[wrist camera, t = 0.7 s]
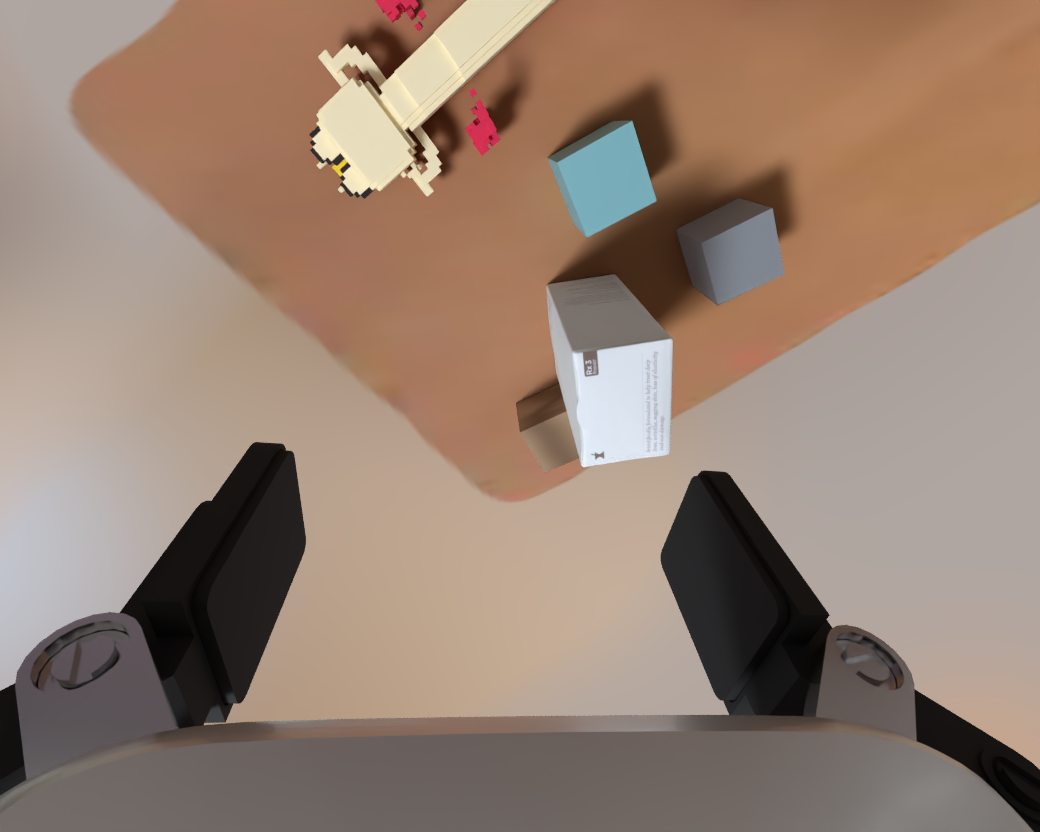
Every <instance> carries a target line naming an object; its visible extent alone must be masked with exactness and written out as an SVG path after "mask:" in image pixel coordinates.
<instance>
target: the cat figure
mask: <svg viewBox="0 0 1040 832" xmlns="http://www.w3.org/2000/svg"><path fill="white" fill-rule="evenodd" d="M375 1H376V3H377V4H378V6H379V7H380V8H381V10H382V11H383V13H384V12H385V14H386V15H387V16H388V18H389V19H390V20H391V22H392V23H393V22H394V21H395V20H398V19H399V18H400V17H401V14H402V13H403V12H407V14H408V16H409V17H410V19H411V20H413V19H414V18H415V13H414V12H413V10H412V9H411V8H412V7H413V9H414V10H415V9H416V8H417V7H418V3H417V2H416V0H375ZM555 1H556V0H467V1H466V2H465V3H464V4H463V5H461V6H460V7H459V8H458V9H457V10H456V11H455V12H454V13H453V14H452V15H451V16H450V17H449V18H448V19H447V20H446V21H445V22H444V23H443V24H442V25H441V26H440V27H439V28H438V29H437V30H436V31H435V32H434V34H433V35H432V36H431V37H430V38H429V39H428V40H427V41H426V42H424V43H423V44H422V45H421V46H420V47H419V48H418V49H417V50H416V51H415V52H414V53H413V54H412V55H411V56H410V57H409V58H408V59H407V60H406V61H405V62H404V63H403V64H402V65H401V66H400V67H399V68H398V69H396V70H395V71H394V74H393V75H392V76H391V77H389V78H388V79H387V80H386V78H385V77H384V75H383V74H382V73H381V71H380V70H379V69H378V67H377V66H376V64H375V63H374V62H373V60H372V59H371V58H370V56H369V55H368V53H367V52H366V53H365V54H364V55H362V54H361V53H360V51H359V50H358V49H357V47H356V46H354V47H353V48H352V49H351V48H350V46H349V45H348V44H347V45H346V46H345V47H344V48H343V49H342V50H341V51H340V52H339V53H338V54H337V55H336V56H335V57H334V58H333V57H332V56H331V55H330V53H329V52H328V51H327V50H324V51H323V52H322V53H321V54H320V55H319V56H318V58H319V59H320V60H321V61H322V63H323V64H324V65H325V67H326V68H327V69H328V70H329V72H330V73H331V74H332V76H333V77H334V78H335V79H336V81H337V82H338V83H339V85H340V86H341V87H342V88H341V89H340V90H339V91H338V92H337V93H336V94H335V95H334V96H333V97H332V98H331V99H330V100H329V101H328V102H327V103H326V104H325V105H324V106H323V107H322V108H321V109H320V110H319V113H318V114H317V115H316V116H317V117H318V118H319V121H318V122H317V123H316V124H317V125H318V127H317V128H316V129H315V130H314V131H313V132H312V133H310V134H309V135H310V136H311V137H312V138H313V140H312V141H311V142H310V143H311V144H312V146H313V148H312V149H311V150H310V151H311V152H312V153H313V154H314V155H315V156H316V158H317V159H318V160H319V161H320V162H319V163H318V164H317V166H318V167H319V168H320V169H322V168H323V167H324V166H325V165H326V164H327V163H328V164H329V165H330V164H332V163H334V164H335V165H334V166H333V169H334V170H335V171H336V172H337V173H338V174H339V176H340V178H341V179H342V181H343V182H342V183H341V184H340V185H341V187H340V188H339V189H338V190H339V191H340V193H343V192H344V191H346V192H347V193H348V195H349V196H350V197H351V196H353V195H355V196H356V197H357V198H358V197H359V196H360V195H361V196H362V197H363V198H364V199H365V198H366V197H367V196H368V195H369V194H370V193H371V192H373V191H374V190H375V189H376V188H377V189H378V191H381V190H383V189H384V188H385V187H387V186H388V185H389V184H390V183H391V182H392V181H393V180H394V179H396V178H397V177H398V176H399V175H400V174H401V175H402V177H403V178H404V177H405V176H406V175H407V176H408V177H409V178H411V177H412V178H413V179H414V181H415V182H416V183H417V185H418V186H419V187H420V188H421V190H422V191H423V192H424V194H425V195H426V196H427V197H428V196H429V195H430V194H431V193H432V192H433V191H434V189H433V188H432V187H431V185H430V184H429V182H430V181H431V180H432V179H433V178H434V177H435V176H436V175H438V174H439V173H440V172H441V169H440V168H439V166H440V165H441V164H442V163H441V161H440V160H439V159H438V157H437V156H436V155H437V154H438V153H439V151H438V150H437V148H436V147H435V145H434V144H433V143H432V141H431V140H430V139H429V137H428V136H427V134H426V133H425V132H424V130H423V129H422V128H421V125H422V124H423V123H424V122H425V121H426V120H428V119H429V118H430V117H431V116H432V115H433V114H434V113H435V112H436V111H437V110H438V109H439V108H440V107H441V106H442V105H443V104H444V103H445V102H447V101H448V100H449V99H450V98H451V97H452V96H453V95H454V94H455V93H456V92H457V91H458V90H460V89H461V88H462V87H463V86H464V85H465V84H466V83H467V82H468V81H469V80H470V79H472V78H473V77H474V76H475V75H476V73H478V72H479V71H480V70H481V69H482V68H483V67H484V66H485V65H486V64H487V63H488V62H489V61H491V60H492V59H493V58H494V57H495V56H496V55H497V54H498V53H499V52H500V51H501V50H502V49H504V48H505V47H506V46H507V45H508V44H509V43H510V42H511V41H512V40H513V39H514V38H515V37H517V36H518V35H519V34H520V33H521V32H522V31H523V30H524V29H525V28H526V27H527V26H528V25H530V24H531V23H532V22H533V21H534V20H535V19H536V18H537V17H538V16H539V15H540V14H542V13H543V12H544V11H545V10H546V9H547V8H548V7H549V6H550V5H552V4H553V3H554V2H555ZM418 15H419V17H420V18H421V20H423V19H424V18H425V17H426V14H425V13H424V11H423V10H422V9H421V10H420V11H419V12H418ZM415 27H416V28H417V30H418V31H419V30H420V29H421V28H422V26H421V25H420V23H419V22H418V23H417V24H416V25H415ZM349 64H350V66H351V67H352V68H353V69H354V68H355V67H356V66H358V68H359V69H360V70H361V72H362V73H363V74H364V75H365V74H366V73H367V72H369V74H370V75H371V76H372V78H373V79H374V81H375V82H376V83H377V85H378V86H379V88H380V89H381V91H382V92H383V93H382V94H381V95H380V94H379V93H378V92H377V90H376V89H375V88H374V87H373V86H372V85H371V84H370V83H369V82H368V81H367V82H366V83H365V84H364V83H363V82H362V81H361V80H359V81H357V79H356V78H355V77H354V76H353V77H352V78H351V79H350V80H349V78H348V77H347V76H346V74H345V73H344V71H343V70H344V69H345V68H346V67H347V66H348V65H349ZM469 93H470V95H471V96H472V98H473V97H474V96H475V95H476V94H477V93H476V91H475V90H474V88H473V89H472V90H471V91H470V92H469ZM476 105H477V106H478V109H477V110H476V108H475V107H474V108H473V109H472V110H471V111H472V113H473V114H476V115H477V118H476V119H475V120H474V121H473V122H472V123H471V124H470V125H469V126H467V127H466V128H465V130H466V131H467V133H468V135H469V136H470V138H471V139H472V140H473V141H474V142H473V144H474V145H475V147H476V148H477V150H478V151H479V152H480V154H481V155H483V154H484V153H486V152H487V151H488V150H489V148H488V146H487V145H488V144H489V143H490V144H491V146H494V145H495V144H496V143H497V142H498V141H499V140H500V138H499V137H498V134H497V133H496V130H497V129H496V127H495V126H494V123H493V122H492V120H491V119H490V117H489V116H488V115H489V114H488V112H487V110H486V109H485V107H484V106H483V103H482V102H481V100H480V99H479V100H478V101H477V102H476ZM409 129H410V130H411V131H412V132H413V133H414V134H415V136H416V137H417V139H418V140H419V141H420V143H421V144H422V145H423V147H424V148H425V149H426V150H425V151H424V152H423V155H424V156H425V157H426V159H427V160H428V161H429V162H428V163H427V164H425V165H426V166H427V168H428V170H427V171H425V172H424V173H423V174H421V172H420V171H419V170H420V169H421V168H423V166H422V165H421V164H418V165H417V167H418V168H417V167H416V164H415V163H414V161H415V160H417V159H416V157H415V156H414V155H415V154H416V153H417V151H416V150H415V149H414V148H415V147H416V146H417V144H416V142H415V141H414V140H413V138H412V137H411V136H410V134H409V133H408V132H407V130H409ZM410 165H411V167H412V168H413V169H412V170H411V171H410V172H409V173H408V174H406V173H405V172H404V170H405V169H407V168H408V167H409V166H410ZM418 169H419V170H418Z"/></svg>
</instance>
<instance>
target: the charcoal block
mask: <svg viewBox="0 0 1040 832" xmlns="http://www.w3.org/2000/svg"><path fill="white" fill-rule="evenodd" d="M676 232H677V235H678V238H679V242H680V245H681V249H682V252H683V255H684V259H685V262H686V266H687V269H688V273H689V276H690V279H691V283H692V286H693V287H694V288H696V289H697V290H698V291H700V292H701V293H702V294H704V295H705V296H706V297H707V298H709V299H710V300H711V301H713V302H714V303H715V304H717V305H720V304H722V303H724V302H726V301H728V300H730V299H733V298H735V297H737V296H739V295H741V294H743V293H745V292H747V291H750V290H752V289H754V288H756V287H758V286H760V285H762V284H765V283H767V282H769V281H771V280H773V279H775V278H777V277H780V276H782V275H784V269H783V264H782V258H781V252H780V247H779V241H778V235H777V230H776V224H775V219H774V213H773V208H771V207H768V206H764V205H761V204H758V203H754V202H751V201H747V200H744V199H740V198H737V199H735V200H733V201H731V202H729V203H727V204H725V205H723V206H721V207H719V208H717V209H715V210H714V211H712V212H710V213H708V214H706V215H704V216H702V217H700V218H698V219H696V220H694V221H692V222H690V223H688V224H686V225H684V226H682V227H680V228H678V229H676Z"/></svg>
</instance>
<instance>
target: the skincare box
mask: <svg viewBox="0 0 1040 832" xmlns="http://www.w3.org/2000/svg"><path fill="white" fill-rule="evenodd" d="M547 305H548V316H549V325H550V332H551V339H552V345H553V351H554V355H555V367H556V373H557V376H558V380H559V384H560V388H561V391H562V396H563V399H564V403H565V407H566V410H567V414H568V418H569V421H570V425H571V429H572V433H573V436H574V440H575V444H576V447H577V451H578V455H579V458H580V462H581V465H582V466H583V467H588V466H593V465H599V464H606V463H612V462H618V461H624V460H631V459H638V458H646V457H655V456H661V455H668V454H669V453H670V435H671V411H672V369H673V339H672V338H671V337H670V336H669V334H668V333H667V332H666V331H665V330H664V329H663V328H662V327H661V325H660V324H659V323H658V322H657V321H656V320H655V319H654V318H653V317H652V316H651V314H650V313H649V312H648V311H647V310H646V308H645V307H644V306H643V305H642V304H641V303H640V302H639V300H638V299H637V298H636V297H635V296H634V295H633V294H632V292H631V291H630V290H629V289H628V288H627V287H626V286H625V285H624V283H623V282H622V281H621V280H620V279H619V278H618V277H617V276H616V275H615V274H612V275H606V276H599V277H593V278H586V279H579V280H573V281H566V282H559V283H552V284H548V285H547Z"/></svg>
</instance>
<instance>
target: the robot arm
mask: <svg viewBox="0 0 1040 832" xmlns="http://www.w3.org/2000/svg"><path fill="white" fill-rule="evenodd" d="M305 545H306V536H305V528H304V521H303V514H302V507H301V500H300V493H299V486H298V479H297V472H296V464H295V458H294V453H293V452H292V451H286V448H285V446H284V445H283V444H277V443H260V442H255V443H253V444H252V445H251V446H250V447H249V449H248V450H247V451H246V453H245V454H244V456H243V457H242V459H241V460H240V462H239V463H238V464H237V466H236V467H235V468H234V470H233V471H232V473H231V474H230V476H229V477H228V478H227V480H226V481H225V483H224V484H223V485H222V487H221V488H220V490H219V491H218V493H217V494H216V496H215V497H214V498H213V500H212V501H205V502H203V503H201V504H200V505H199V506H198V507H197V508H196V509H195V511H194V512H193V513H192V515H191V516H190V518H189V519H188V520H187V522H186V523H185V524H184V526H183V527H182V529H181V530H180V531H179V533H178V534H177V535H176V537H175V538H174V540H173V541H172V542H171V543H170V545H169V546H168V548H167V549H166V550H165V552H164V553H163V554H162V556H161V557H160V559H159V560H158V561H157V563H156V564H155V565H154V567H153V568H152V569H151V571H150V572H149V574H148V575H147V576H146V578H145V579H144V580H143V582H142V583H141V585H140V586H139V587H138V588H137V590H136V591H135V593H134V594H133V595H132V597H131V598H130V599H129V601H128V602H127V604H126V605H125V606H124V608H123V609H122V610H121V612H120V613H111V612H109V613H102V614H95V615H91V616H88V617H85V618H82V619H79V620H77V621H74V622H72V623H70V624H68V625H66V626H64V627H62V628H61V629H58V630H56V631H55V632H54V633H52V634H51V635H50V636H48V637H47V638H46V639H44V640H43V641H41V642H40V643H39V644H38V645H37V646H36V647H35V648H34V649H33V650H32V651H31V652H30V653H29V654H28V655H27V656H26V658H25V659H24V661H23V663H22V664H21V666H20V668H19V670H18V672H17V676H16V683H15V684H13V685H11V686H9V687H7V688H5V689H3V690H1V691H0V832H1040V770H1039V769H1038V768H1037V767H1036V766H1035V765H1034V764H1033V763H1032V762H1030V761H1029V760H1027V759H1026V758H1024V757H1023V756H1022V755H1020V754H1019V753H1017V752H1016V751H1014V750H1013V749H1011V748H1010V747H1008V746H1006V745H1005V744H1003V743H1001V742H1000V741H998V740H996V739H995V738H993V737H991V736H990V735H988V734H987V733H985V732H983V731H982V730H980V729H978V728H977V727H975V726H974V725H972V724H970V723H969V722H967V721H965V720H963V719H962V718H960V717H959V716H957V715H956V714H954V713H952V712H951V711H949V710H947V709H945V708H944V707H942V706H941V705H939V704H938V703H936V702H934V701H933V700H931V699H929V698H928V697H926V696H924V695H923V694H921V693H919V692H918V691H916V690H915V689H914V682H913V678H912V674H911V672H910V670H909V669H908V667H907V665H906V664H905V662H904V661H903V660H902V659H901V657H900V656H899V655H898V654H897V653H896V652H895V651H894V650H893V649H892V648H891V647H890V646H888V645H887V644H886V643H885V642H884V641H882V640H881V639H879V638H878V637H876V636H874V635H873V634H871V633H869V632H867V631H865V630H862V629H860V628H858V627H853V626H848V625H841V626H836V627H834V628H832V627H831V625H830V624H829V623H828V621H827V620H826V619H827V618H828V616H829V614H828V612H827V611H826V609H825V608H824V607H823V605H822V604H821V603H820V601H819V600H818V598H817V597H816V595H815V594H814V593H813V591H812V590H811V588H810V587H809V586H808V584H807V583H806V581H805V580H804V579H803V577H802V576H801V574H800V573H799V572H798V570H797V569H796V568H795V566H794V565H793V563H792V562H791V561H790V559H789V558H788V556H787V555H786V553H785V552H784V551H783V549H782V548H781V546H780V545H779V544H778V542H777V541H776V540H775V538H774V537H773V535H772V534H771V532H770V531H769V530H768V528H767V527H766V525H765V524H764V523H763V521H762V520H761V518H760V517H759V516H758V514H757V513H756V511H755V510H754V509H753V507H752V506H751V504H750V503H749V502H748V500H747V499H746V498H745V496H744V495H743V493H742V492H741V490H740V489H739V488H738V486H737V485H736V483H735V482H734V481H733V479H732V478H731V476H730V475H729V474H728V473H726V472H717V471H701V472H700V473H699V474H698V476H694V477H693V478H692V479H691V481H690V484H689V486H688V488H687V491H686V493H685V496H684V498H683V501H682V503H681V505H680V508H679V510H678V513H677V515H676V518H675V520H674V523H673V525H672V527H671V530H670V532H669V534H668V537H667V540H666V542H665V544H664V547H663V549H662V552H661V564H662V568H663V570H664V572H665V575H666V577H667V580H668V582H669V584H670V587H671V589H672V591H673V594H674V596H675V598H676V601H677V604H678V606H679V609H680V611H681V613H682V616H683V618H684V621H685V623H686V625H687V628H688V630H689V633H690V635H691V638H692V640H693V642H694V645H695V647H696V650H697V652H698V654H699V657H700V659H701V662H702V664H703V667H704V669H705V671H706V674H707V676H708V679H709V681H710V683H711V686H712V688H713V690H714V693H715V695H716V696H717V697H718V699H720V700H723V701H724V703H725V706H726V708H727V710H728V713H729V715H633V716H632V715H623V716H622V715H620V716H619V715H615V716H520V717H519V716H517V717H447V718H446V717H443V718H442V717H440V718H377V719H327V720H297V721H296V720H295V721H265V722H241V723H228V724H217V725H204V723H207V722H208V723H211V722H213V723H214V722H226V720H227V717H228V715H229V713H230V710H231V708H232V705H233V703H241V702H242V701H243V700H244V698H245V696H246V694H247V692H248V689H249V687H250V684H251V682H252V679H253V677H254V674H255V672H256V669H257V667H258V665H259V662H260V659H261V657H262V655H263V652H264V650H265V647H266V645H267V642H268V640H269V637H270V635H271V632H272V630H273V628H274V625H275V623H276V620H277V618H278V615H279V613H280V610H281V608H282V606H283V603H284V600H285V598H286V596H287V593H288V591H289V588H290V586H291V583H292V581H293V578H294V576H295V573H296V571H297V569H298V566H299V564H300V561H301V559H302V556H303V554H304V550H305Z"/></svg>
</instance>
